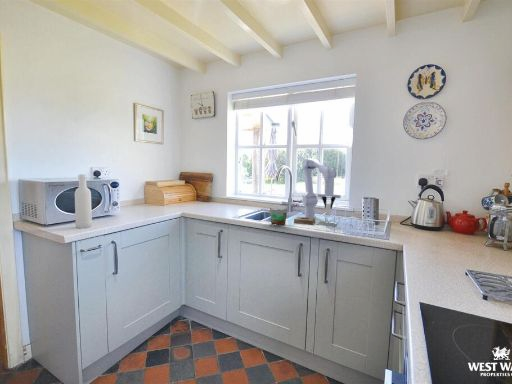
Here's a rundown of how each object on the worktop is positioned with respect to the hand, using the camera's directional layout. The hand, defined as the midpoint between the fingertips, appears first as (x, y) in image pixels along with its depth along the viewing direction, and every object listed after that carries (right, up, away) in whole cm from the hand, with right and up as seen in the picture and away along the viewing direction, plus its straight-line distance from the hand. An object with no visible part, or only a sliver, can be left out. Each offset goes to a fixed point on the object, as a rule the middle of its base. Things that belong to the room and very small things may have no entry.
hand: (328, 208), depth 172 cm
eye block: (-15, -10, +4) cm, 18 cm away
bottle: (-147, -9, -23) cm, 149 cm away
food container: (-35, -10, -5) cm, 36 cm away
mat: (0, -10, +1) cm, 10 cm away
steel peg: (0, -5, 0) cm, 4 cm away
